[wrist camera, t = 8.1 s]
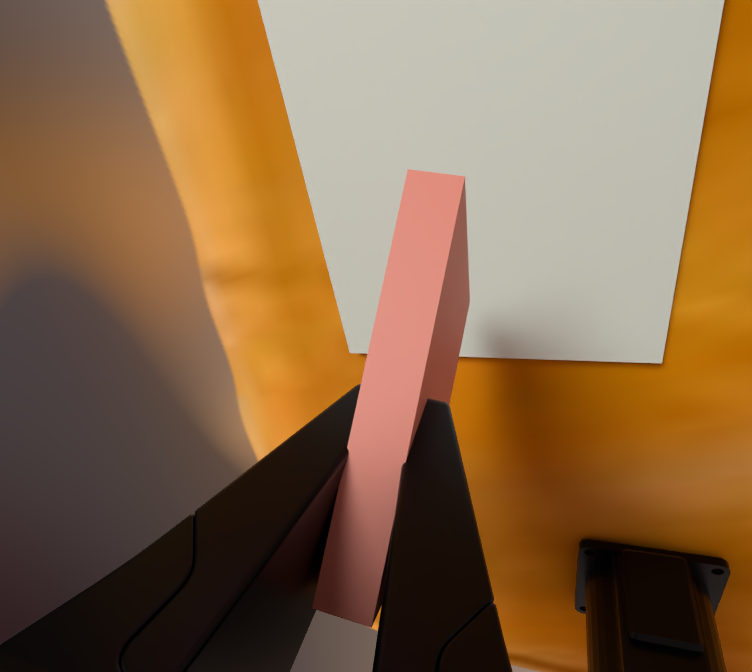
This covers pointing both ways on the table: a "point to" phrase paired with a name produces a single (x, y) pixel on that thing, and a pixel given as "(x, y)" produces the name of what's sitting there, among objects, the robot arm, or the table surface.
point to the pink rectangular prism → (398, 387)
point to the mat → (507, 155)
